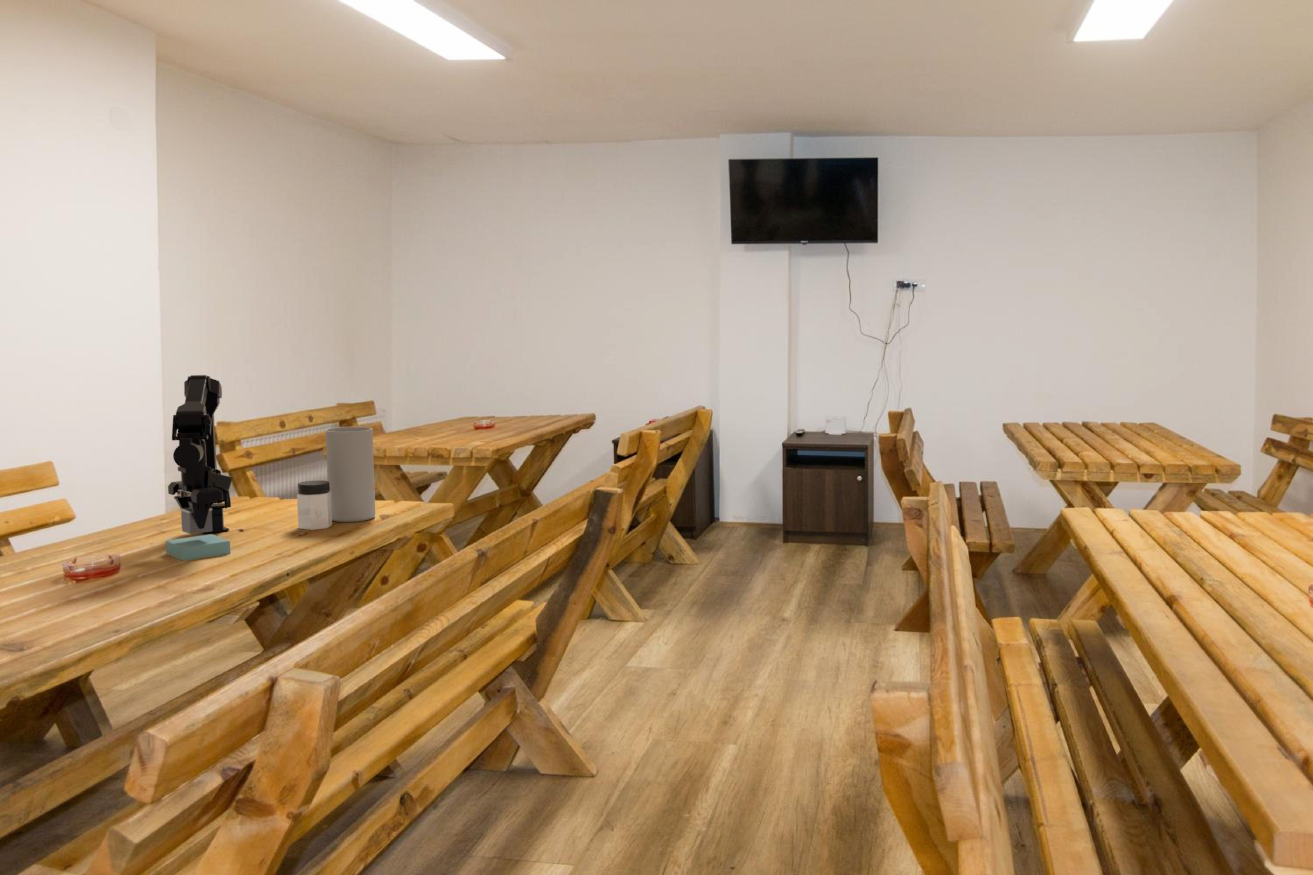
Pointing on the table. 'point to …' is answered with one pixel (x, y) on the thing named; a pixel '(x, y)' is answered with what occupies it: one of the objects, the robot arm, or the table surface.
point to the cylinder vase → (351, 473)
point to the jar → (314, 505)
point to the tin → (194, 522)
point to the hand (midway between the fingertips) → (197, 526)
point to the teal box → (197, 547)
